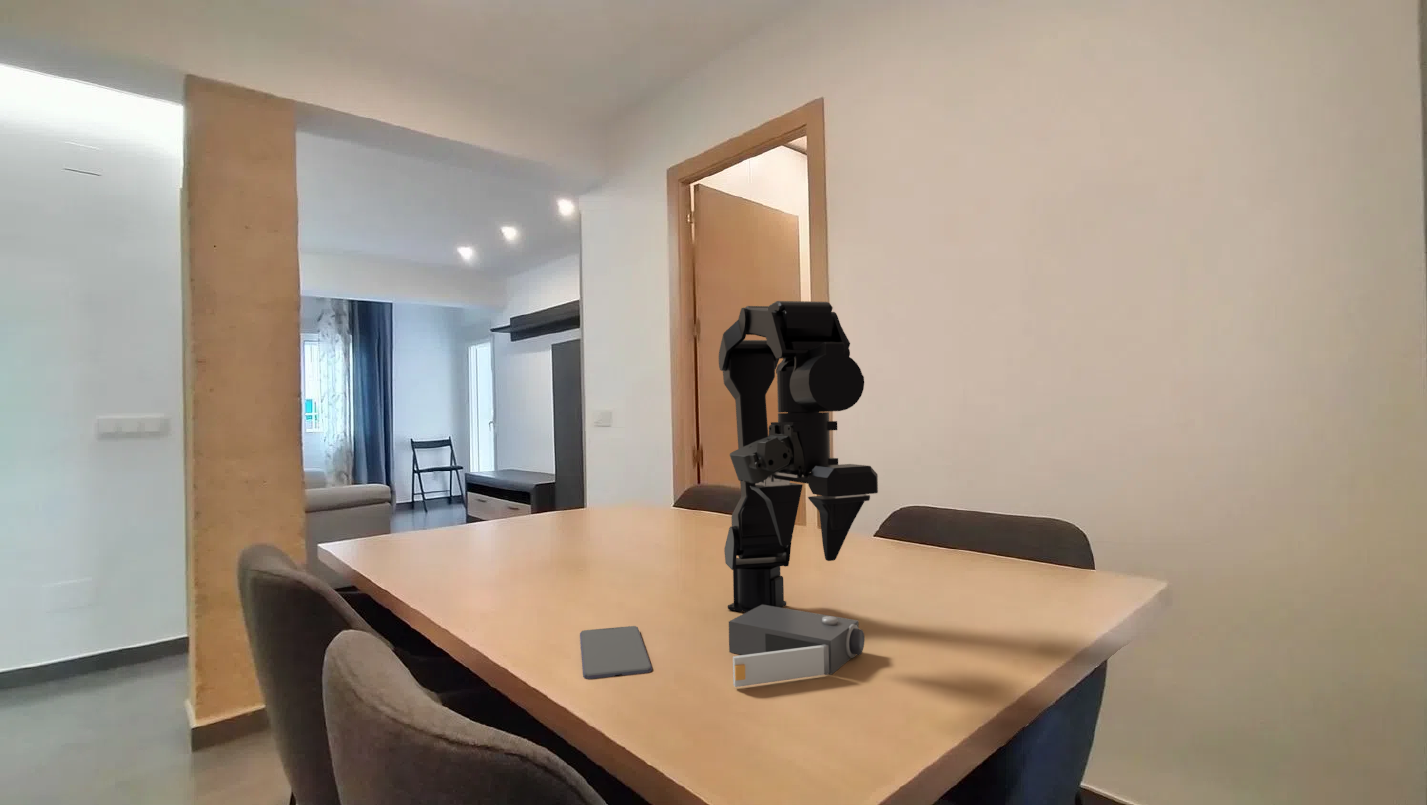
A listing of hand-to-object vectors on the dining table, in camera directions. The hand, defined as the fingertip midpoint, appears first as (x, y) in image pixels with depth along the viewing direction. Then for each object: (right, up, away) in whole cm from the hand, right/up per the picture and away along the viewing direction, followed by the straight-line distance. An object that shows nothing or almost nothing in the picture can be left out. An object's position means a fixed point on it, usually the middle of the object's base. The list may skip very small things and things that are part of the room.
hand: (806, 552), depth 72 cm
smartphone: (-22, -14, +5) cm, 27 cm away
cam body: (-1, -13, +4) cm, 13 cm away
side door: (-3, -12, -5) cm, 13 cm away
